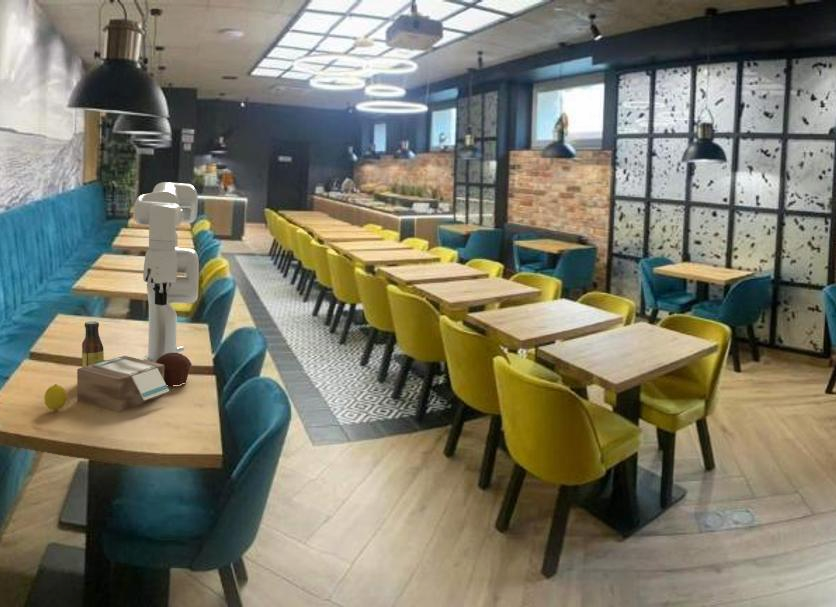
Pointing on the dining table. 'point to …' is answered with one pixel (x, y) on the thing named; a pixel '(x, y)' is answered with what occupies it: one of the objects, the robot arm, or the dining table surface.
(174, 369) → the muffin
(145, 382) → the stub
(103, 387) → the brown box with strip
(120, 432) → the dining table surface
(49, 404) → the lemon
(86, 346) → the sauce bottle
